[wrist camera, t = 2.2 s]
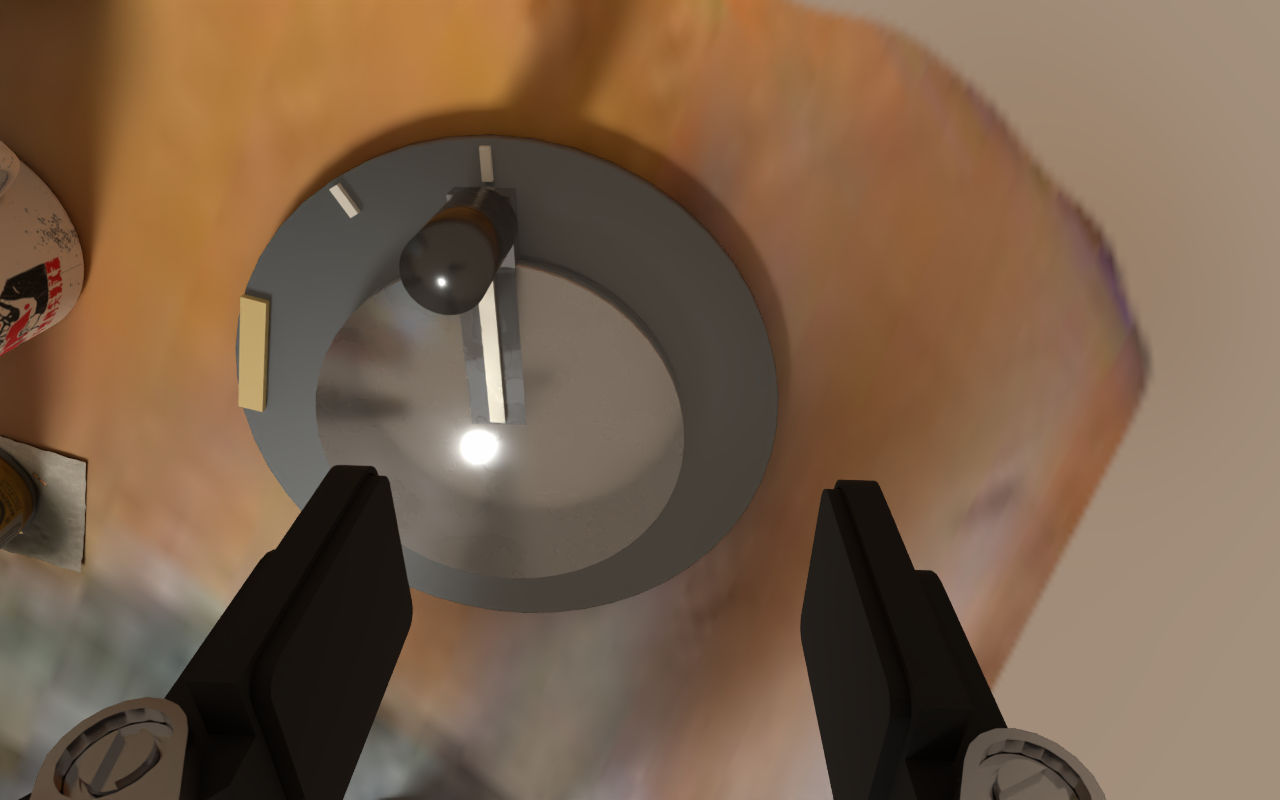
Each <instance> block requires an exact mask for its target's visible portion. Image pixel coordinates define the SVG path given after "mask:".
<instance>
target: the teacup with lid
mask: <svg viewBox="0 0 1280 800" xmlns="http://www.w3.org/2000/svg"><path fill="white" fill-rule="evenodd" d="M83 280H84V261H83V255H82V250H81V246H80V242H79V239H78V236H77V233H76V231H75V228H74V226H73V224H72V222H71V220H70V218H69V216H68V214H67V213H66V211H65V209H64V208H63V206H62V205H61V203H60V202H59V200H58V199H57V197H56V196H55V195H54V194H53V192H52V191H51V190H50V189H49V187H48V186H47V185H46V184H45V183H44V182H43V181H42V180H41V179H40V178H39V177H38V176H37V175H36V174H35V173H34V172H33V171H32V170H31V169H30V168H29V167H28V166H27V165H25V164H24V163H23V162H22V161H21V160H19V159H18V158H17V156H16V155H15V153H14V152H13V151H12V150H10V149H9V148H8V147H7V146H6V145H5V144H4V143H3V142H2V141H0V356H1V355H3V354H5V353H6V352H8V351H10V350H12V349H13V348H15V347H17V346H19V345H20V344H22V343H24V342H26V341H27V340H29V339H31V338H33V337H34V336H36V335H38V334H40V333H41V332H43V331H45V330H47V329H48V328H50V327H52V326H54V325H55V324H57V323H58V322H59V321H61V320H62V319H63V318H64V317H66V315H67V314H68V313H69V312H70V311H71V310H72V308H73V307H74V305H75V304H76V302H77V300H78V298H79V295H80V292H81V289H82V285H83Z"/></svg>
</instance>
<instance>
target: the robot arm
mask: <svg viewBox="0 0 1280 800" xmlns="http://www.w3.org/2000/svg"><path fill="white" fill-rule="evenodd" d="M412 614H413V606H412V599H411V594H410V588H409V583H408V578H407V572H406V567H405V562H404V556H403V551H402V545H401V540H400V535H399V529H398V524H397V518H396V513H395V508H394V502H393V497H392V491H391V486H390V482H389V479H388V478H387V477H386V476H379V475H378V472H377V470H376V468H375V467H373V466H361V465H335V466H333V467H332V468H331V469H330V470H329V472H328V473H327V474H326V476H325V477H324V479H323V480H322V482H321V483H320V485H319V486H318V488H317V489H316V491H315V492H314V494H313V495H312V497H311V498H310V500H309V501H308V502H307V504H306V505H305V507H304V508H303V510H302V511H301V513H300V514H299V516H298V517H297V519H296V520H295V522H294V523H293V525H292V526H291V527H290V529H289V530H288V532H287V533H286V535H285V536H284V538H283V539H282V541H281V542H280V544H279V545H278V547H277V548H276V550H272V551H270V552H268V553H266V554H265V556H264V557H263V558H262V559H261V560H260V561H259V563H258V564H257V565H256V567H255V568H254V570H253V571H252V573H251V574H250V576H249V577H248V578H247V580H246V581H245V583H244V584H243V586H242V587H241V589H240V590H239V591H238V593H237V594H236V596H235V597H234V599H233V600H232V602H231V603H230V604H229V606H228V607H227V609H226V610H225V612H224V613H223V615H222V616H221V617H220V619H219V620H218V622H217V623H216V625H215V626H214V628H213V629H212V630H211V632H210V633H209V635H208V636H207V638H206V639H205V641H204V642H203V643H202V645H201V646H200V648H199V649H198V651H197V652H196V654H195V655H194V656H193V658H192V659H191V661H190V662H189V664H188V665H187V667H186V668H185V669H184V671H183V672H182V674H181V675H180V677H179V678H178V680H177V681H176V682H175V684H174V685H173V687H172V688H171V690H170V691H169V692H168V694H167V695H166V697H165V698H164V699H163V698H151V697H145V698H139V699H133V700H127V701H124V702H121V703H118V704H116V705H113V706H110V707H107V708H105V709H103V710H101V711H99V712H97V713H96V714H94V715H92V716H90V717H89V718H87V719H85V720H83V721H82V722H80V723H79V724H78V725H77V726H75V727H74V728H73V729H72V730H70V731H69V732H68V733H67V734H66V735H64V736H63V737H62V738H61V739H60V740H59V742H58V743H57V744H56V745H55V746H54V747H53V749H52V750H51V751H50V752H49V753H48V754H47V756H46V758H45V760H44V762H43V764H42V766H41V768H40V770H39V772H38V774H37V777H36V781H35V784H34V787H33V790H32V793H30V794H28V795H26V796H25V797H23V798H21V799H19V800H343V798H344V795H345V793H346V790H347V788H348V785H349V783H350V780H351V777H352V775H353V772H354V770H355V767H356V765H357V762H358V760H359V757H360V754H361V752H362V749H363V747H364V744H365V742H366V739H367V737H368V734H369V731H370V729H371V726H372V724H373V721H374V719H375V716H376V714H377V711H378V709H379V706H380V703H381V701H382V698H383V696H384V693H385V691H386V688H387V686H388V683H389V680H390V678H391V675H392V673H393V670H394V668H395V665H396V663H397V660H398V657H399V655H400V652H401V650H402V647H403V645H404V642H405V640H406V637H407V634H408V632H409V629H410V626H411V621H412ZM800 627H801V641H802V646H803V651H804V656H805V661H806V666H807V671H808V676H809V681H810V686H811V691H812V695H813V700H814V705H815V710H816V715H817V720H818V725H819V730H820V735H821V740H822V745H823V750H824V754H825V759H826V764H827V769H828V774H829V779H830V784H831V789H832V794H833V799H834V800H1106V798H1105V794H1104V793H1103V791H1102V789H1101V788H1100V786H1099V784H1098V783H1097V781H1096V779H1095V778H1094V776H1093V775H1092V773H1091V772H1090V771H1089V770H1088V769H1087V768H1086V767H1085V766H1084V765H1083V764H1082V763H1081V762H1080V761H1079V760H1078V759H1077V757H1075V756H1074V755H1072V754H1071V753H1070V752H1068V751H1067V750H1065V749H1064V748H1063V747H1061V746H1060V745H1058V744H1057V743H1055V742H1053V741H1051V740H1049V739H1047V738H1045V737H1043V736H1040V735H1038V734H1036V733H1032V732H1028V731H1024V730H1020V729H1016V728H1007V725H1006V723H1005V721H1004V719H1003V717H1002V715H1001V712H1000V710H999V708H998V706H997V704H996V701H995V699H994V697H993V695H992V692H991V690H990V688H989V686H988V684H987V681H986V679H985V677H984V675H983V673H982V670H981V668H980V666H979V664H978V662H977V659H976V657H975V655H974V653H973V651H972V648H971V646H970V644H969V642H968V639H967V637H966V635H965V633H964V631H963V628H962V626H961V624H960V622H959V620H958V617H957V615H956V613H955V611H954V609H953V606H952V604H951V602H950V600H949V598H948V595H947V593H946V591H945V589H944V587H943V584H942V582H941V581H940V579H939V577H938V576H937V574H936V573H934V572H933V571H930V570H915V569H914V567H913V564H912V562H911V560H910V557H909V555H908V553H907V550H906V548H905V545H904V543H903V541H902V538H901V536H900V533H899V531H898V529H897V526H896V524H895V521H894V519H893V517H892V514H891V512H890V509H889V507H888V505H887V502H886V500H885V498H884V495H883V493H882V490H881V488H880V486H879V484H878V482H876V481H864V480H838V481H837V482H836V484H835V488H834V489H824V490H823V492H822V496H821V501H820V507H819V513H818V519H817V525H816V531H815V537H814V543H813V549H812V555H811V561H810V567H809V573H808V579H807V584H806V590H805V596H804V602H803V608H802V614H801V626H800Z"/></svg>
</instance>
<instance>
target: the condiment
mask: <svg viewBox="0 0 1280 800" xmlns="http://www.w3.org/2000/svg"><path fill="white" fill-rule="evenodd" d="M33 473H35V474H36V475H37V476H38V477H39V479H42V480H43V481H45V482H46V483H47V486H45V485H43V484H42V483H41V482H40V480H39V479H37V478H35V477H34V476H33ZM85 475H86V463H85V462H81V461H78V460H75V459H70V458H67V457H64V456H61V455H59V454H56V453H53V452H50V451H43V450H40V449H37V448H35V447H32V446H29V445H26V444H23V443H18V442H14V441H13V440H11V439H8V438H4V437H1V436H0V549H1V548H2V549H4V550H6V551H8V552H11V553H18V554H22V555H25V556H28V557H32V558H37V559H40V560H43V561H47V562H49V563H51V564H54V565H56V566H58V567H61V568H66V569H70V570H73V571H77V572H80V571H81V560H82V557H83V537H84V526H85V511H86V506H85V490H86V480H85ZM20 531H22V532H23V534H19V533H20Z"/></svg>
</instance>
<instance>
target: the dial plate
mask: <svg viewBox="0 0 1280 800" xmlns="http://www.w3.org/2000/svg"><path fill="white" fill-rule="evenodd" d="M453 187H486V188H516V200H517V215H518V230H519V245H520V254H521V255H525V256H530V257H535V258H539V259H544V260H547V261H550V262H553V263H556V264H559V265H562V266H565V267H567V268H570V269H572V270H574V271H576V272H578V273H580V274H582V275H584V276H586V277H588V278H590V279H592V280H594V281H596V282H597V283H599V284H600V285H602V286H603V287H605V288H606V289H608V290H609V291H611V292H612V293H614V294H615V295H616V296H618V297H619V298H620V299H621V300H622V301H623V302H625V303H626V304H627V305H628V306H629V307H630V308H632V309H633V310H634V311H635V312H636V314H637V315H638V316H639V317H640V318H641V319H642V320H643V321H644V322H645V323H646V325H647V326H648V327H649V328H650V329H651V331H652V332H653V334H654V335H655V337H656V338H657V340H658V341H659V342H660V344H661V345H662V347H663V349H664V351H665V353H666V355H667V357H668V359H669V361H670V363H671V365H672V367H673V370H674V373H675V376H676V379H677V382H678V385H679V389H680V394H681V400H682V405H683V426H684V450H683V458H682V465H681V469H680V472H679V476H678V479H677V483H676V486H675V488H674V490H673V492H672V494H671V496H670V498H669V500H668V502H667V504H666V505H665V507H664V508H663V510H662V511H661V513H660V514H659V516H658V517H657V519H656V520H655V521H654V522H653V523H652V524H651V525H650V526H649V528H648V529H647V530H646V531H645V532H644V533H643V534H642V535H640V536H639V537H638V538H637V539H636V540H635V541H633V542H632V543H631V544H630V545H628V546H627V547H625V548H624V549H622V550H621V551H619V552H618V553H616V554H614V555H613V556H611V557H609V558H607V559H605V560H603V561H600V562H598V563H596V564H594V565H591V566H588V567H585V568H583V569H580V570H577V571H573V572H569V573H564V574H560V575H555V576H547V577H539V578H503V577H491V576H486V575H480V574H474V573H470V572H466V571H462V570H459V569H455V568H452V567H449V566H446V565H443V564H441V563H438V562H436V561H433V560H430V559H428V558H426V557H424V556H422V555H420V554H418V553H416V552H414V551H412V550H410V549H409V548H407V547H405V546H404V545H402V544H401V545H402V551H403V556H404V562H405V567H406V572H407V578H408V583H409V587H411V588H414V589H416V590H419V591H422V592H424V593H427V594H430V595H432V596H435V597H438V598H442V599H445V600H449V601H453V602H456V603H460V604H464V605H468V606H474V607H480V608H485V609H491V610H498V611H510V612H523V613H538V612H561V611H570V610H579V609H586V608H590V607H595V606H600V605H604V604H609V603H613V602H616V601H619V600H622V599H625V598H628V597H631V596H634V595H637V594H640V593H642V592H644V591H646V590H649V589H651V588H653V587H655V586H657V585H659V584H662V583H664V582H666V581H667V580H669V579H671V578H672V577H674V576H676V575H677V574H679V573H681V572H682V571H684V570H685V569H687V568H689V567H690V566H691V565H693V564H694V563H695V562H696V561H698V560H699V559H700V558H701V557H703V556H704V555H705V554H707V553H708V552H709V551H710V550H711V549H712V548H713V547H714V546H715V545H716V544H717V543H718V542H719V541H720V540H721V539H722V538H723V537H724V536H725V535H726V534H727V533H728V532H729V531H730V530H731V529H732V527H733V526H734V525H735V523H736V522H737V521H738V519H739V518H740V517H741V515H742V514H743V513H744V511H745V510H746V508H747V507H748V505H749V503H750V502H751V500H752V498H753V496H754V494H755V492H756V490H757V489H758V487H759V485H760V483H761V481H762V478H763V475H764V473H765V470H766V467H767V464H768V462H769V459H770V456H771V452H772V447H773V442H774V437H775V432H776V427H777V411H778V388H777V379H776V369H775V362H774V358H773V354H772V350H771V347H770V343H769V339H768V335H767V331H766V328H765V324H764V321H763V318H762V316H761V314H760V311H759V309H758V307H757V304H756V302H755V300H754V297H753V295H752V293H751V290H750V288H749V287H748V285H747V283H746V282H745V280H744V278H743V277H742V275H741V274H740V272H739V270H738V269H737V267H736V265H735V264H734V262H733V260H732V259H731V258H730V256H729V255H728V254H727V253H726V251H725V250H724V249H723V248H722V247H721V245H720V244H719V243H718V242H717V240H716V239H715V238H714V237H713V236H712V234H711V233H710V232H709V231H708V230H707V229H706V228H705V227H704V226H703V225H702V224H701V223H700V222H699V221H698V220H697V219H696V218H695V217H693V216H692V215H691V214H690V213H689V212H688V211H687V210H686V209H685V208H684V207H683V206H682V205H681V204H679V203H678V202H677V201H675V200H674V199H672V198H671V197H670V196H668V195H667V194H665V193H664V192H662V191H661V190H660V189H658V188H657V187H655V186H654V185H653V184H651V183H650V182H648V181H647V180H645V179H643V178H641V177H639V176H637V175H635V174H634V173H632V172H630V171H628V170H626V169H624V168H622V167H620V166H618V165H617V164H615V163H613V162H611V161H608V160H605V159H603V158H600V157H597V156H594V155H592V154H589V153H586V152H584V151H581V150H578V149H576V148H573V147H569V146H564V145H560V144H555V143H551V142H547V141H542V140H538V139H533V138H524V137H513V136H502V135H471V136H450V137H445V138H440V139H435V140H429V141H424V142H419V143H414V144H410V145H407V146H404V147H401V148H398V149H396V150H393V151H390V152H387V153H384V154H381V155H378V156H376V157H374V158H372V159H370V160H368V161H366V162H364V163H362V164H360V165H359V166H357V167H355V168H353V169H351V170H349V171H347V172H345V173H343V174H342V175H340V176H339V177H337V178H335V179H334V180H332V181H331V182H329V183H328V184H327V185H325V186H324V187H323V188H322V189H320V190H319V191H318V192H316V193H315V194H314V195H312V196H311V197H310V198H308V199H307V200H306V201H304V202H303V203H302V204H301V205H300V206H299V207H298V208H297V209H296V211H295V212H294V213H293V214H292V215H291V216H290V217H289V218H288V219H287V220H286V221H285V222H284V223H283V224H282V225H281V226H280V227H279V229H278V230H277V232H276V233H275V235H274V236H273V238H272V239H271V241H270V242H269V244H268V245H267V247H266V248H265V250H264V251H263V253H262V254H261V256H260V258H259V260H258V262H257V264H256V266H255V269H254V271H253V273H252V275H251V278H250V280H249V282H248V284H247V287H246V291H245V294H243V295H242V296H241V297H240V314H239V318H238V329H237V340H236V362H237V378H238V384H239V405H238V406H239V407H243V408H244V412H245V414H246V417H247V420H248V423H249V426H250V428H251V431H252V434H253V437H254V439H255V441H256V443H257V445H258V447H259V449H260V451H261V453H262V455H263V457H264V459H265V461H266V463H267V465H268V467H269V468H270V470H271V471H272V473H273V474H274V476H275V477H276V479H277V480H278V482H279V483H280V484H281V486H282V487H283V489H284V490H285V492H286V493H287V494H288V496H289V497H290V498H291V499H292V500H293V501H294V503H295V504H296V505H297V506H298V507H299V508H300V510H301V511H302V510H303V508H304V507H305V505H306V504H307V502H308V501H309V500H310V498H311V497H312V495H313V494H314V492H315V491H316V489H317V488H318V486H319V485H320V483H321V482H322V480H323V479H324V477H325V476H326V474H327V473H328V472H329V470H330V469H331V467H330V465H329V463H328V461H327V458H326V456H325V454H324V450H323V447H322V444H321V441H320V437H319V433H318V426H317V420H316V389H317V383H318V377H319V372H320V369H321V366H322V363H323V360H324V357H325V354H326V352H327V350H328V349H329V347H330V345H331V343H332V341H333V339H334V337H335V335H336V334H337V333H338V332H339V330H340V329H341V328H342V326H343V325H344V324H345V322H346V321H347V320H348V319H349V317H350V316H351V315H352V314H353V313H354V312H355V311H356V310H357V309H358V308H359V306H360V305H361V304H362V303H363V302H364V301H365V300H366V299H367V298H369V297H370V296H371V295H372V294H373V293H374V292H375V291H376V290H377V289H378V288H379V287H381V286H382V285H384V284H385V283H387V282H388V281H389V280H391V279H392V278H394V277H395V276H397V275H398V274H400V273H399V261H400V256H401V254H402V251H403V249H404V247H405V246H406V245H407V243H408V242H409V241H410V240H411V239H412V238H413V237H414V236H415V235H416V234H417V233H418V232H419V231H420V230H421V229H422V228H423V226H424V225H425V224H426V223H427V222H428V221H429V220H430V219H431V218H432V217H433V216H434V215H435V214H436V213H437V212H438V211H439V210H440V209H441V208H442V207H443V206H444V205H445V204H446V203H447V197H446V194H447V193H448V192H449V191H450V190H451V189H452V188H453Z"/></svg>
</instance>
